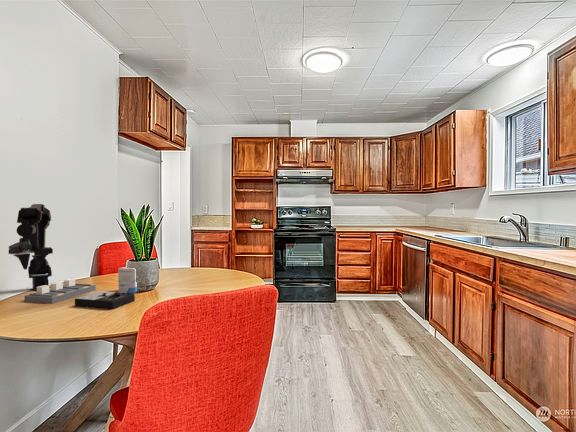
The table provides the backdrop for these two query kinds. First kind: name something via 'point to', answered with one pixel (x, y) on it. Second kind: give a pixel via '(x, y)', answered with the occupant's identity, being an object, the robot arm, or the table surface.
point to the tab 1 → (43, 289)
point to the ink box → (127, 280)
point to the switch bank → (60, 294)
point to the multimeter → (105, 300)
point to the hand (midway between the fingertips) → (31, 269)
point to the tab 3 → (69, 282)
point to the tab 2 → (56, 285)
